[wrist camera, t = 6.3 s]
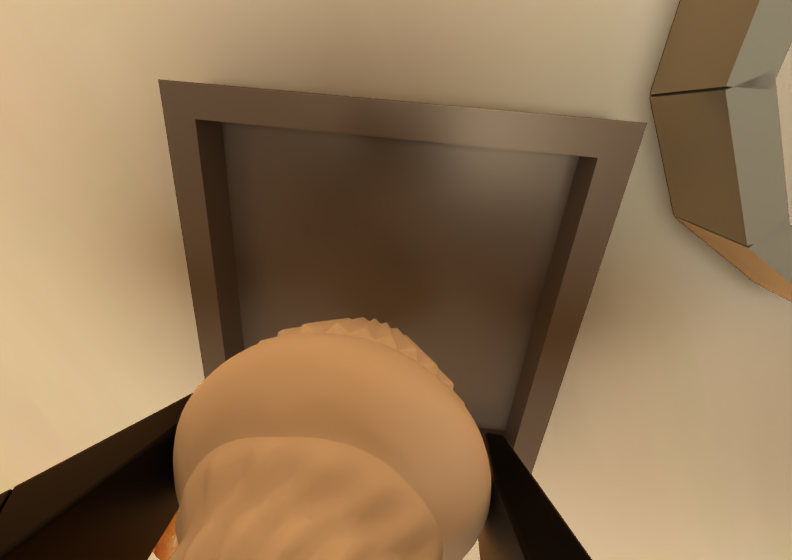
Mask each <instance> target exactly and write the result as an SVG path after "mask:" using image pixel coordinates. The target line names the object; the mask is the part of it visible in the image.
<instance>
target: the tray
mask: <svg viewBox="0 0 792 560" xmlns="http://www.w3.org/2000/svg"><path fill="white" fill-rule="evenodd" d="M158 81H159V87H160V94H161V100H162V107H163V113H164V119H165V126H166V132H167V139H168V145H169V151H170V158H171V164H172V171H173V177H174V184H175V190H176V196H177V203H178V209H179V216H180V222H181V229H182V235H183V241H184V248H185V254H186V261H187V267H188V273H189V280H190V286H191V293H192V299H193V306H194V312H195V318H196V325H197V331H198V338H199V344H200V350H201V357H202V363H203V370H204V376H205V379H206V378H207V377H208V376H209V375H210V374H211V373H212V372H213V371H214V370H215V369H217V368H218V367H219V366H220V365H221V364H223V363H224V362H226V361H227V360H228V359H230V358H231V357H233V356H235V355H236V354H238V353H240V352H242V351H244V350H245V349H247V348H249V347H251V346H254V345H256V344H258V343H259V341H261V340H265V339H269V338H273V337H277V335H278V332H279V331H281V330H283V329H289V328H295V327H301V326H302V325H303V324H306V323H313V322H320V321H328V320H336V319H343V318H351V319H355V318H361V317H364V318H365V319H367V320H368V321H371V320H373V319H376V320H377V321H378V322H379V323H381V324H382V323H388V324H389V327H390V328H397V329H399V331H400V332H401V333H402V334H403V335H406V336H408V337H409V338H410V339H411V340H412V341H413V342H414V343H415V344H416V345H417V346H418V347H419V348H420V349H421V350H422V351H423V352H424V353H425V354H426V355H427V356H428V357H429V358H430V359H432V360H433V361H434V362H435V363H436V364H437V366H438V368H439V369H440V370H441V371H442V372H443V373H444V374H445V375H446V376H447V377H448V378H449V379H450V380H451V381H452V382H453V384H454V386H453V391H454V392H455V393H456V394H457V395H458V396H459V397H460V398H461V399H462V401H463V402H464V404H465V407H466V408H467V410H468V411H469V413H470V414H471V416H472V418H473V419H474V421H475V423H476V425H477V427H478V429H479V431H480V434H481V436H482V437H483V434H484V433H485V432H493V433H499V434H502V435H503V436H504V437H505V438H506V439H507V441H508V442H509V443H510V445H511V446H512V448H513V449H514V450H515V452H516V453H517V455H518V456H519V458H520V459H521V460H522V462H523V463H524V465H525V466H526V467H527V469H528V470H529V472H530V473H531V474H532V471H533V468H534V465H535V461H536V458H537V455H538V452H539V449H540V446H541V443H542V440H543V437H544V434H545V431H546V428H547V425H548V422H549V419H550V416H551V413H552V410H553V407H554V404H555V401H556V398H557V395H558V392H559V389H560V386H561V383H562V380H563V377H564V373H565V370H566V367H567V364H568V361H569V358H570V355H571V352H572V349H573V346H574V343H575V340H576V337H577V334H578V331H579V328H580V325H581V322H582V319H583V316H584V313H585V310H586V307H587V304H588V301H589V298H590V295H591V292H592V289H593V286H594V282H595V279H596V276H597V273H598V270H599V267H600V264H601V261H602V258H603V255H604V252H605V249H606V246H607V243H608V240H609V237H610V234H611V231H612V228H613V225H614V222H615V219H616V216H617V213H618V210H619V207H620V204H621V201H622V198H623V195H624V191H625V188H626V185H627V182H628V179H629V176H630V173H631V170H632V167H633V164H634V161H635V158H636V155H637V152H638V149H639V146H640V143H641V140H642V137H643V134H644V131H645V128H646V125H647V123H641V122H630V121H619V120H608V119H596V118H585V117H574V116H563V115H551V114H540V113H529V112H518V111H506V110H495V109H484V108H473V107H461V106H450V105H439V104H428V103H417V102H405V101H394V100H383V99H372V98H360V97H349V96H338V95H327V94H315V93H304V92H293V91H282V90H270V89H259V88H248V87H237V86H225V85H214V84H203V83H192V82H181V81H169V80H158Z"/></svg>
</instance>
